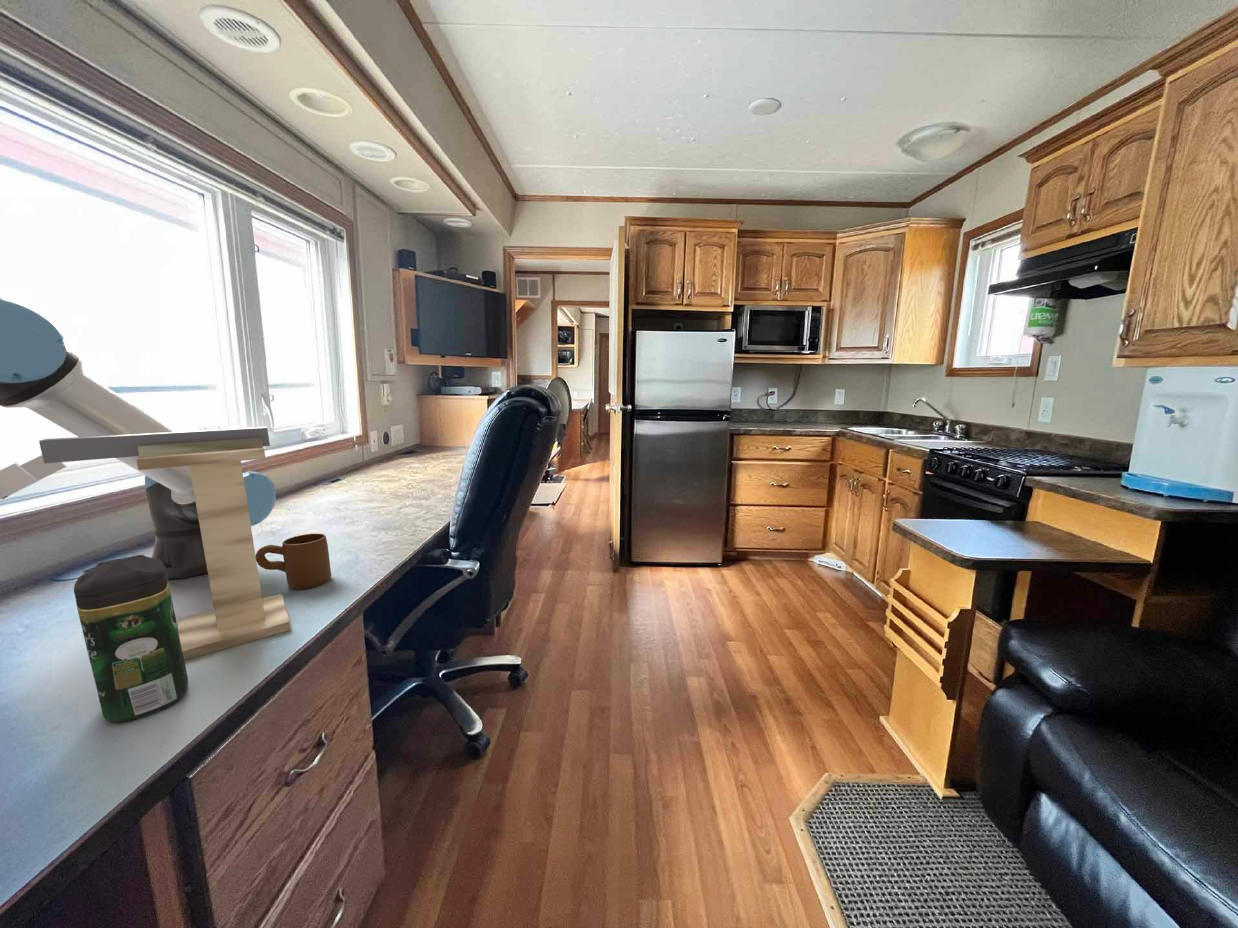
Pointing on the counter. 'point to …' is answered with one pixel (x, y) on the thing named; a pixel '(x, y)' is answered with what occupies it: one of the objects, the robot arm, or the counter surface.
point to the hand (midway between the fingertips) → (43, 465)
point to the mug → (300, 560)
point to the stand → (222, 545)
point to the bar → (135, 443)
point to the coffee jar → (131, 637)
